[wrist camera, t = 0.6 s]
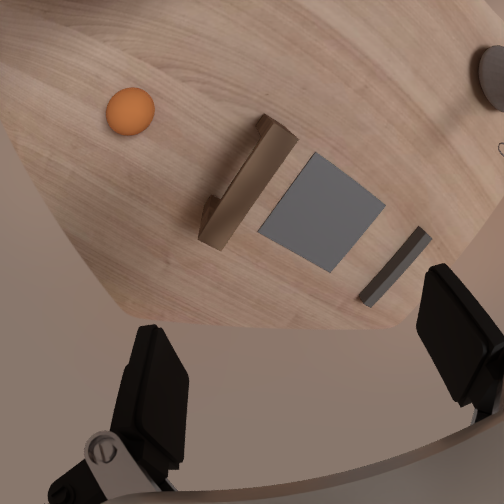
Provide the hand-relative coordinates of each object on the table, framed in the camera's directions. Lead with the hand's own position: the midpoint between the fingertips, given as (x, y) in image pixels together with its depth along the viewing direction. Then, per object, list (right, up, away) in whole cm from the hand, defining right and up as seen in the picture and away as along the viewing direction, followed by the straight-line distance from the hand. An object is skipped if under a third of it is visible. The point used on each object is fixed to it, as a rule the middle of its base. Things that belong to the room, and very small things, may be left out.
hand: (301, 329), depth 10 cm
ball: (-16, +19, +23) cm, 34 cm away
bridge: (-3, +14, +30) cm, 33 cm away
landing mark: (+9, +8, +35) cm, 37 cm away
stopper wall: (+22, +1, +40) cm, 46 cm away
